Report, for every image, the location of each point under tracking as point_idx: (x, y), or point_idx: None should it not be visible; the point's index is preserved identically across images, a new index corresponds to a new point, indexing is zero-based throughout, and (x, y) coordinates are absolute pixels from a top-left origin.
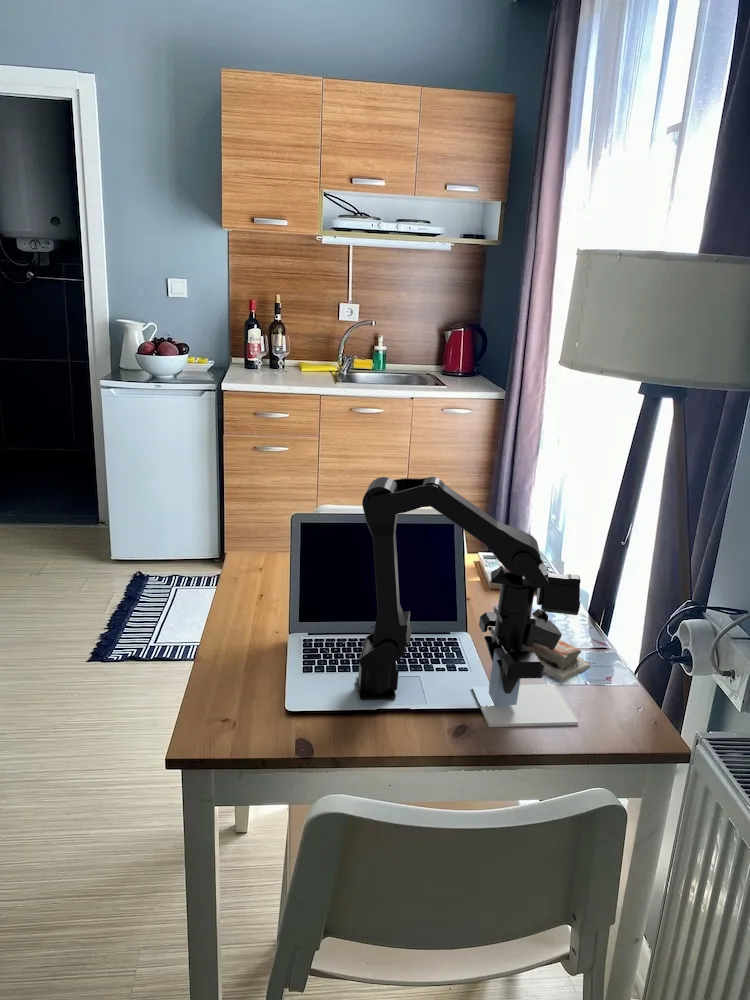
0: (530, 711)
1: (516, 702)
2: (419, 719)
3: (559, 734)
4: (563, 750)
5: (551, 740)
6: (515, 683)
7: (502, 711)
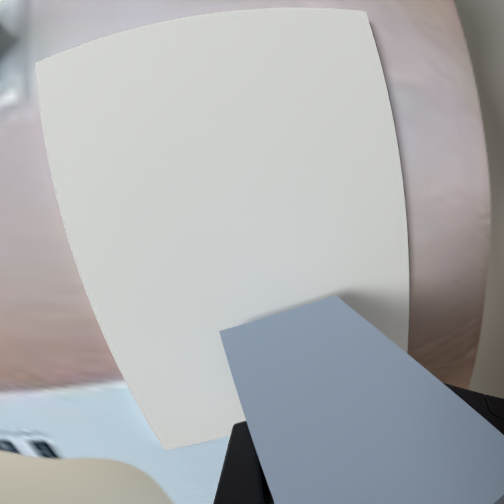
0: (328, 213)
1: (342, 302)
2: None
3: (425, 111)
4: (482, 129)
5: (454, 153)
6: (457, 390)
7: None
